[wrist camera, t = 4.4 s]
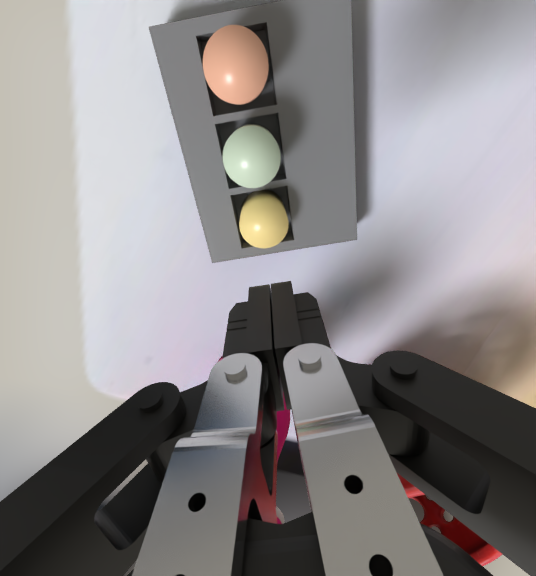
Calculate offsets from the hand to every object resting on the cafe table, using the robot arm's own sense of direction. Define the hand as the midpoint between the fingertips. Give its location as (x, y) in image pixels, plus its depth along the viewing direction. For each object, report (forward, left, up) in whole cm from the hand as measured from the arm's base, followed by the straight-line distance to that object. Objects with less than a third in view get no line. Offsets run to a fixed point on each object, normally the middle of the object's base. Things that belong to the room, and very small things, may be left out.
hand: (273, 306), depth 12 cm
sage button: (0, -4, -11) cm, 12 cm away
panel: (-1, -4, -13) cm, 13 cm away
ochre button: (0, 0, -12) cm, 12 cm away
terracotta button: (0, -8, -11) cm, 14 cm away
